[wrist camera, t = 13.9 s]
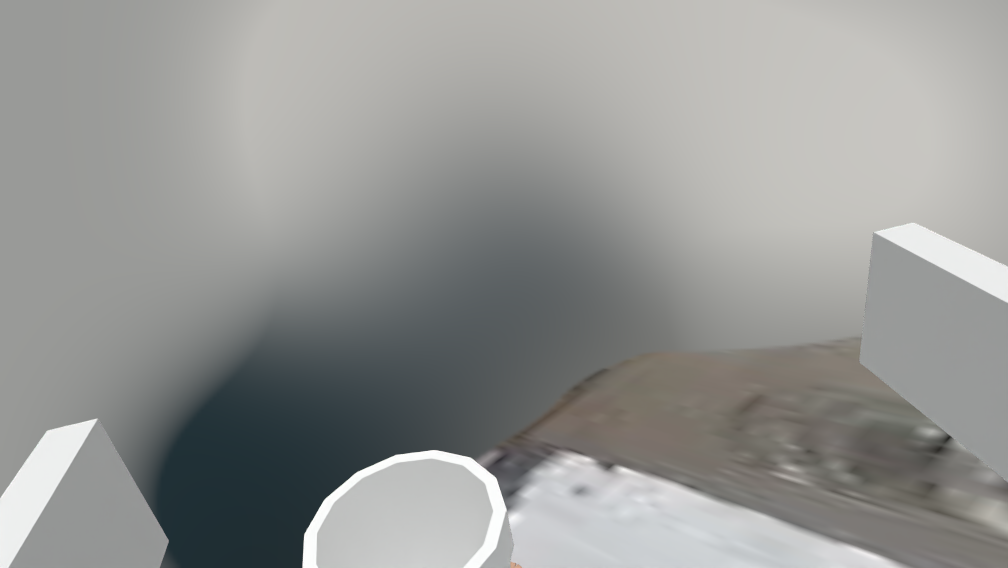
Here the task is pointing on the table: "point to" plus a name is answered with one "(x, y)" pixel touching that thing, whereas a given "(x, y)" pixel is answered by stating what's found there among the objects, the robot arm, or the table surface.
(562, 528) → the table surface
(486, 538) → the foam cup
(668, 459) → the table surface
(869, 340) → the robot arm
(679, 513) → the table surface
